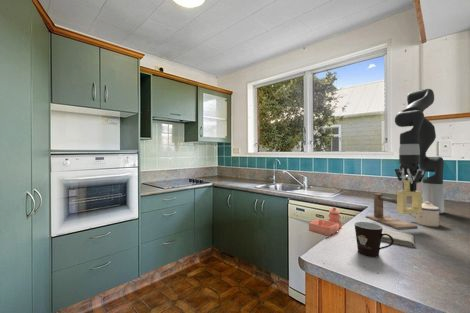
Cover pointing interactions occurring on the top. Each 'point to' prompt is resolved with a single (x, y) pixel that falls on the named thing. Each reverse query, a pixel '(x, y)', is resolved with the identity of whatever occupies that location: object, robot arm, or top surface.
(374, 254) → the coffee mug
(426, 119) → the robot arm
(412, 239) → the washcloth
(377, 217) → the walnut stand
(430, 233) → the top surface
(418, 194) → the brass link
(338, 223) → the pottery
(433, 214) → the teacup with lid
